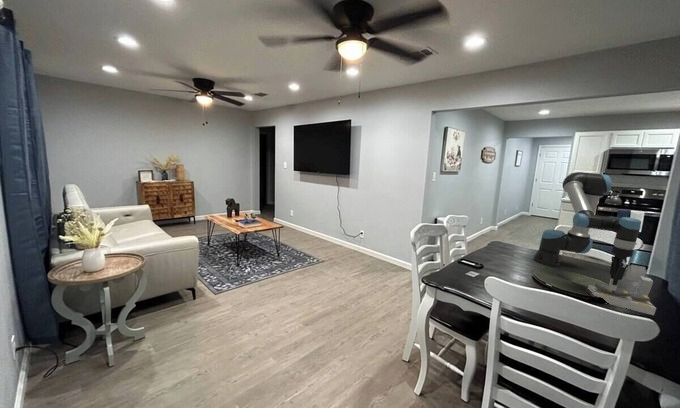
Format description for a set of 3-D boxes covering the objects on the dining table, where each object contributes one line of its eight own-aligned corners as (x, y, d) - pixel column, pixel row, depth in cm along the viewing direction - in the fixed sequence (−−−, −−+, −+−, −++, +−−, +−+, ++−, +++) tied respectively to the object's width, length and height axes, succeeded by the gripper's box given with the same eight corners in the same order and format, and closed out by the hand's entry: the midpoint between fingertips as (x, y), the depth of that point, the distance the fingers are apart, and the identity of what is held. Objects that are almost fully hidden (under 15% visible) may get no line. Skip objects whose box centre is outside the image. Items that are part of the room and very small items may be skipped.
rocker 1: (596, 288, 145) (598, 286, 145) (594, 285, 149) (596, 283, 148) (610, 294, 143) (612, 292, 142) (607, 291, 146) (609, 288, 146)
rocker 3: (633, 299, 139) (633, 296, 139) (630, 296, 142) (630, 293, 142) (650, 301, 136) (650, 298, 136) (646, 298, 139) (646, 295, 139)
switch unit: (592, 299, 144) (595, 292, 143) (586, 291, 153) (588, 284, 153) (653, 315, 133) (656, 307, 132) (643, 305, 143) (645, 297, 142)
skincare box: (632, 294, 153) (639, 275, 151) (644, 298, 150) (651, 278, 148) (634, 299, 149) (641, 278, 146) (646, 302, 146) (653, 282, 143)
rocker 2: (613, 294, 142) (614, 292, 142) (611, 291, 146) (611, 288, 145) (629, 296, 139) (630, 293, 139) (626, 293, 143) (626, 290, 142)
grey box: (642, 282, 170) (647, 268, 168) (628, 280, 173) (632, 265, 171) (638, 280, 174) (643, 266, 172) (624, 277, 176) (629, 263, 174)
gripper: (639, 252, 132) (626, 297, 136) (627, 245, 143) (616, 286, 148) (618, 249, 135) (607, 292, 140) (608, 242, 147) (598, 283, 151)
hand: (611, 289), depth 144 cm, fingers closed
